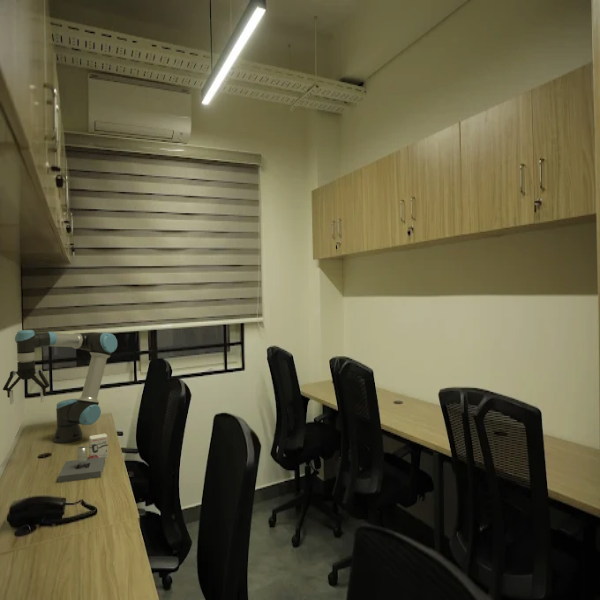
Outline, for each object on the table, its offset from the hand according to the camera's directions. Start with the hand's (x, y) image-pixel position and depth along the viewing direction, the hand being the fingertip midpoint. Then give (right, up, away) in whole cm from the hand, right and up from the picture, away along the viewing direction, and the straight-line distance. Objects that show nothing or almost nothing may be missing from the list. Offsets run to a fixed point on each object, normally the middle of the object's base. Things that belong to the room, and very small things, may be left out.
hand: (27, 402), depth 222 cm
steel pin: (+32, -32, -9) cm, 46 cm away
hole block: (+32, -32, -9) cm, 46 cm away
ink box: (+32, -32, +9) cm, 46 cm away
